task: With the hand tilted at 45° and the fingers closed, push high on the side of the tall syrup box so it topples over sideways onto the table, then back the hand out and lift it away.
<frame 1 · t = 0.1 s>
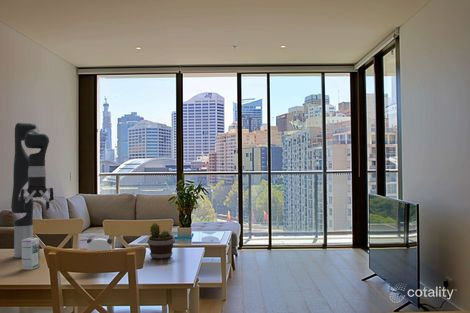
hand: (37, 210, 203), 29 cm above the table, tool pointing down, fingers open, 8 cm apart
flowerpot: (161, 258, 233), on the table
panda figurine: (99, 270, 208), on the table
syrup box: (30, 268, 212), on the table
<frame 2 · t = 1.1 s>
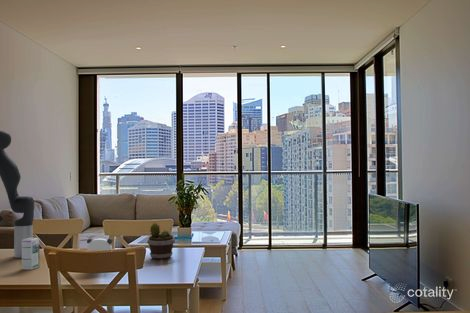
hand: (0, 219, 205), 25 cm above the table, tool tilted 45°, fingers open, 8 cm apart
nothing on the table moved.
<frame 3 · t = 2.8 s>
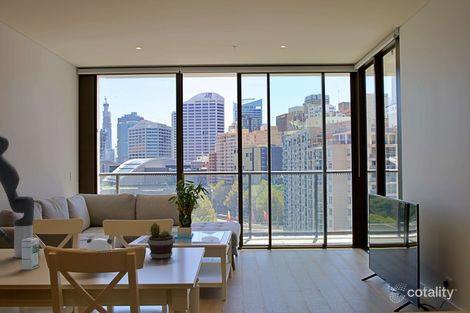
hand: (11, 241, 207), 14 cm above the table, tool tilted 45°, fingers closed
nothing on the table moved.
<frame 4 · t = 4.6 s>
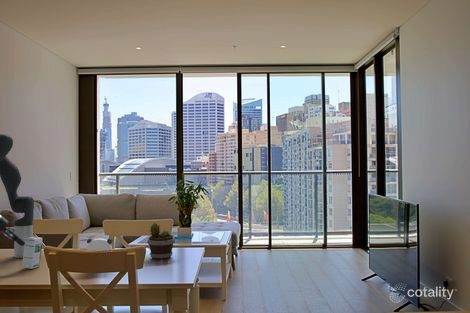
hand: (23, 244, 210), 12 cm above the table, tool tilted 45°, fingers closed
syrup box: (30, 267, 212), on the table, touching gripper
everything else where it was.
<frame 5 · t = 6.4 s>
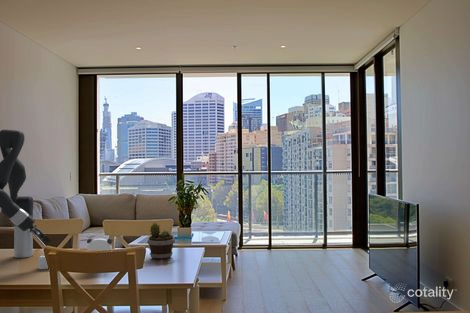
hand: (49, 242, 217), 12 cm above the table, tool tilted 45°, fingers closed
syrup box: (38, 262, 211), point 3 cm above the table
everything else where it was.
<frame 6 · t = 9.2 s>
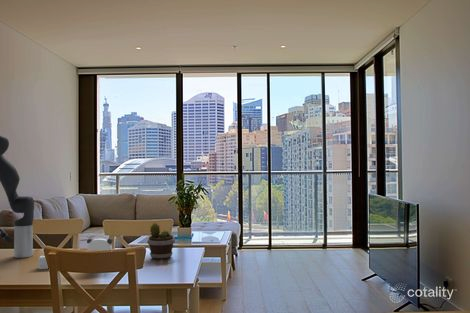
hand: (12, 241, 208), 14 cm above the table, tool tilted 45°, fingers closed
nothing on the table moved.
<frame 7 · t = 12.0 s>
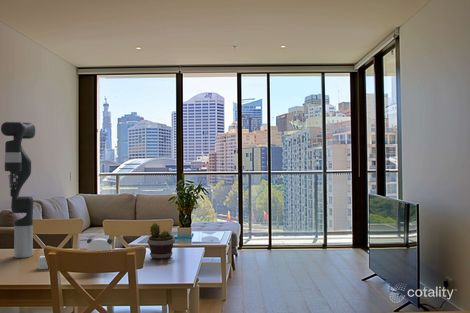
hand: (13, 196, 216), 35 cm above the table, tool pointing down, fingers closed
nothing on the table moved.
at the end: syrup box tilted 90°; syrup box inside the target area (4.4 cm from its centre), point 3.0 cm above the table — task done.
